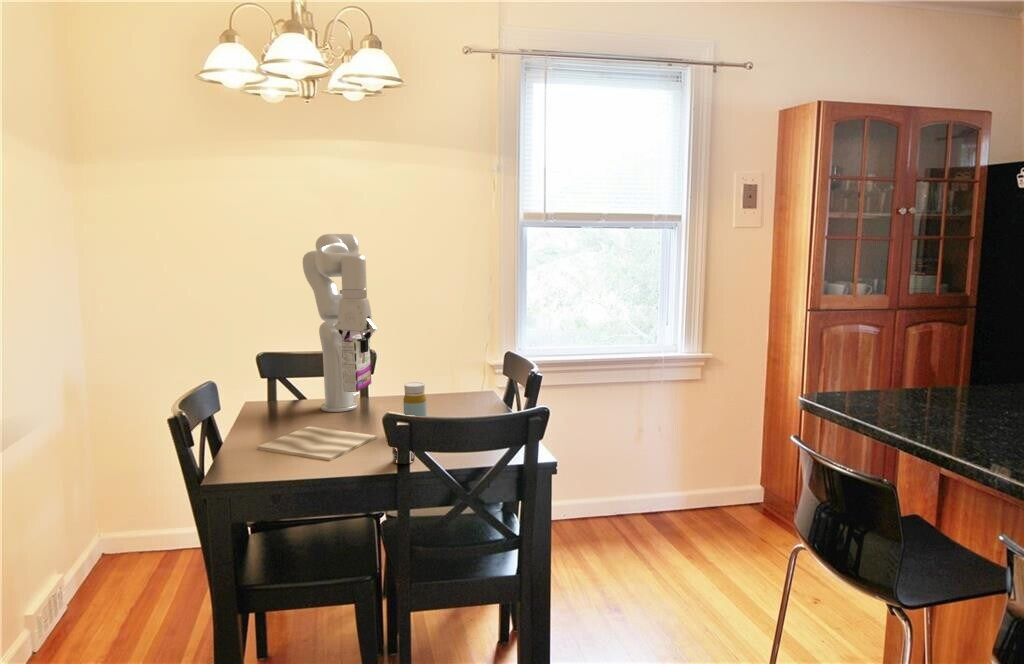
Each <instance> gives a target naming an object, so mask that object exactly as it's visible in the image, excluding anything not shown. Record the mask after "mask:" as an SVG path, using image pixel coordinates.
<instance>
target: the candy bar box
mask: <svg viewBox="0 0 1024 664" xmlns="http://www.w3.org/2000/svg"><path fill="white" fill-rule="evenodd" d="M361 340H362V338H361V335H360V334H357V335H354V336H352V337H349V338H347V339H345V340H342V341H341V342H342V361H343V383H344V391H346V392H352V393H356V392H358V393H359V392H360V391H361V390H363V389H365V388H366V387H368V386H371V385H372V368H371V345H370V344H371V341H370V340H371V338H370V339H368V344H369V349H368V352H365V353H361V343H360V341H361Z"/></svg>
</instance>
